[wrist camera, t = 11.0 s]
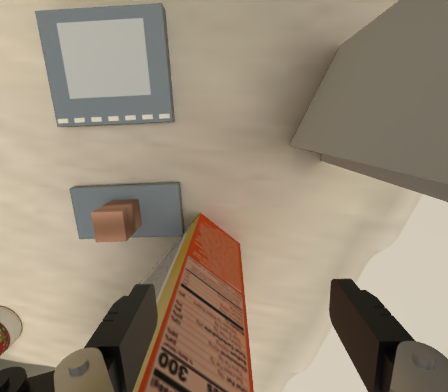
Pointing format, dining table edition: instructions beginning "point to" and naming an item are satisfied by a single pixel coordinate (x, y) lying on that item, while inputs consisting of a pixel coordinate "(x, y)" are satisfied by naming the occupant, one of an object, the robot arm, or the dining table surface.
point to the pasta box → (199, 316)
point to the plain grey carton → (387, 101)
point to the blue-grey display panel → (107, 64)
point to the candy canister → (8, 328)
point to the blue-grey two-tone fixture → (127, 211)
